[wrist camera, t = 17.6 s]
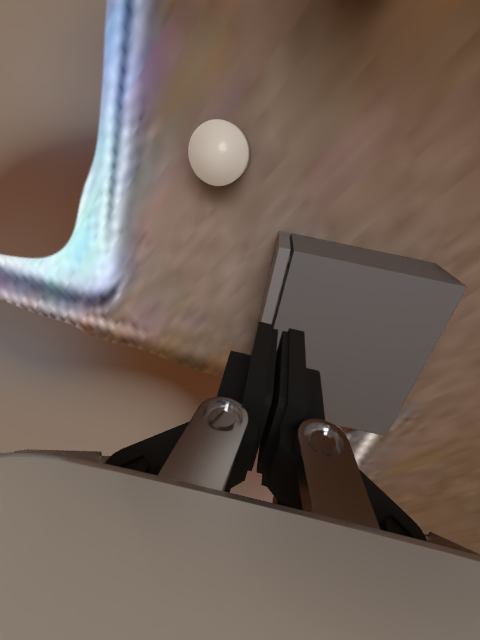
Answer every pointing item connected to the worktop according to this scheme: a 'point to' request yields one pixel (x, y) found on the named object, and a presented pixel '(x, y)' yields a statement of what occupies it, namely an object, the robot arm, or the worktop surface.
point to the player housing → (364, 325)
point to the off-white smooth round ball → (219, 152)
